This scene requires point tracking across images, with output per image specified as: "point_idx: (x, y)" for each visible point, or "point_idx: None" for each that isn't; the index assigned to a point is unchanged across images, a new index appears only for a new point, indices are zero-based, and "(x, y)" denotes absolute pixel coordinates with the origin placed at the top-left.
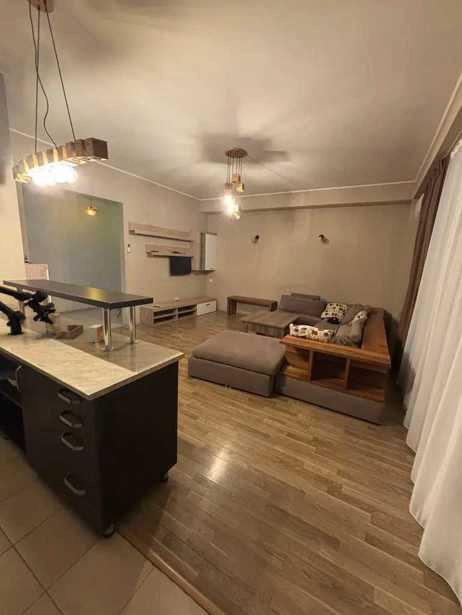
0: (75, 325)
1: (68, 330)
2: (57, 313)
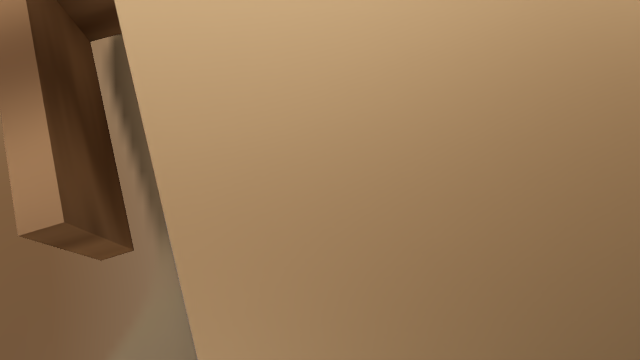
0: (36, 50)
1: (123, 230)
2: (172, 212)
